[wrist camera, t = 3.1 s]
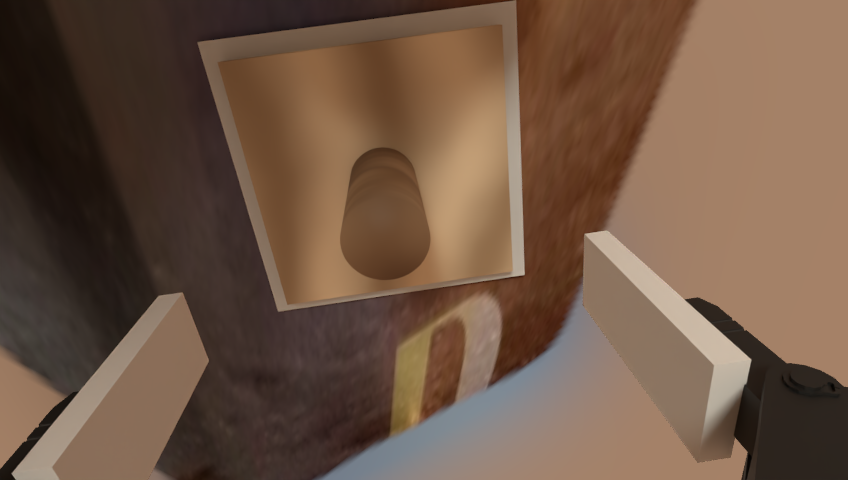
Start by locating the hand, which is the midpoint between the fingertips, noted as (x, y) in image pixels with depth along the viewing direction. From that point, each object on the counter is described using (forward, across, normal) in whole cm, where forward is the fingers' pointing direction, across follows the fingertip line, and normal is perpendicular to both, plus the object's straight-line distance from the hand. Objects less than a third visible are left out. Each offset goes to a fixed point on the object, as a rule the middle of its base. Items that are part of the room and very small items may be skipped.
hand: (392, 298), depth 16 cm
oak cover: (+13, 0, 0) cm, 13 cm away
